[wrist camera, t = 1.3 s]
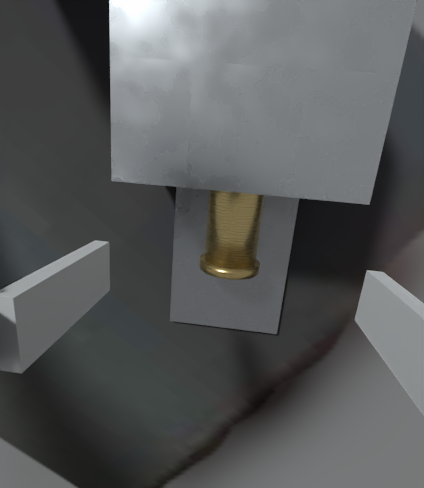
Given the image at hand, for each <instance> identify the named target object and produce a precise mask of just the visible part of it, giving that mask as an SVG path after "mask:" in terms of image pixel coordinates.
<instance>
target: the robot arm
mask: <svg viewBox="0 0 424 488" xmlns="http://www.w3.org/2000/svg"><path fill="white" fill-rule="evenodd" d="M109 290H110V268H109V242H104V241H93V242H91V243H89V244H87V245H85V246H84V247H82V248H80V249H78V250H76V251H74V252H72V253H70V254H68V255H66V256H64V257H62V258H60V259H58V260H57V261H55V262H53V263H51V264H49V265H47V266H45V267H43V268H41V269H39V270H37V271H35V272H33V273H32V274H30V275H28V276H26V277H23V278H20V279H18V280H16V281H14V282H12V283H10V285H6V286H4V287H2V288H1V289H0V370H1V371H8V372H15V373H23V372H24V371H25V370H26V369H27V368H28V367H29V366H30V365H31V364H32V363H34V362H35V361H36V360H37V359H38V358H39V357H40V356H41V355H42V354H43V353H44V352H45V351H46V350H47V349H48V348H49V347H50V346H51V345H52V344H54V343H55V342H56V341H57V340H58V339H59V338H60V337H61V336H62V335H63V334H64V333H65V332H66V331H67V330H68V329H69V328H70V327H71V326H72V325H74V324H75V323H76V322H77V321H78V320H79V319H80V318H81V317H82V316H83V315H84V314H85V313H86V312H87V311H88V310H89V309H90V308H91V307H92V306H94V305H95V304H96V303H97V302H98V301H99V300H100V299H101V298H102V297H103V296H104V295H105V294H106V293H107V292H108V291H109ZM355 321H356V323H357V324H358V325H359V326H360V328H361V330H362V331H363V332H364V334H365V335H366V336H367V338H368V339H369V340H370V342H371V343H372V345H373V346H374V348H375V349H376V350H377V352H378V353H379V355H380V356H381V357H382V359H383V360H384V362H385V363H386V364H387V366H388V367H389V369H390V370H391V371H392V373H393V374H394V376H395V377H396V378H397V380H398V381H399V382H400V384H401V385H402V387H403V388H404V390H405V391H406V392H407V394H408V395H409V397H410V398H411V399H412V401H413V402H414V403H415V405H416V406H417V407H418V409H419V411H420V412H421V413H422V415H423V416H424V303H422V302H421V301H420V300H418V299H417V298H416V297H415V296H413V295H412V294H411V293H409V292H408V291H407V290H405V289H404V288H403V287H402V286H400V285H399V284H397V282H395V281H394V280H393V279H391V278H390V277H389V276H387V275H386V274H385V273H384V272H378V271H369V270H367V271H366V275H365V280H364V284H363V288H362V292H361V296H360V300H359V304H358V308H357V312H356V316H355Z"/></svg>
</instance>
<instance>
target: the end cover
mask: <svg viewBox="0 0 424 488" xmlns="http://www.w3.org/2000/svg"><path fill="white" fill-rule="evenodd" d="M263 203H264V195H259V194H249V193H238V192H227V191H216V190H210V191H209V203H208V216H207V229H206V241H205V253H204V254H202V255H201V256H200V263H199V267H200V269H201V270H202V271H203V272H205V273H206V274H208V275H211V276H214V277H217V278H222V279H229V280H244V279H250V278H253V277H255V276H257V275H258V273H259V267H260V262H259V261H258V260H257V259H256V256H257V248H258V241H259V233H260V225H261V218H262V210H263Z"/></svg>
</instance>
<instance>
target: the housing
mask: <svg viewBox="0 0 424 488" xmlns="http://www.w3.org/2000/svg"><path fill="white" fill-rule="evenodd" d="M416 4H417V0H109V25H110V98H111V170H112V181H119V182H130V183H141V184H152V185H162V186H173V187H176V204H175V225H174V246H173V267H172V289H171V310H170V321H175V322H183V323H191V324H199V325H207V326H215V327H223V328H231V329H239V330H247V331H255V332H263V333H271V334H277V330H278V324H279V318H280V312H281V306H282V300H283V294H284V288H285V282H286V276H287V270H288V264H289V258H290V252H291V246H292V240H293V233H294V227H295V221H296V215H297V209H298V203H299V198H303V199H313V200H324V201H335V202H346V203H357V204H367V205H370V201H371V196H372V192H373V188H374V183H375V179H376V175H377V171H378V166H379V162H380V158H381V153H382V149H383V145H384V141H385V136H386V132H387V128H388V123H389V119H390V115H391V111H392V106H393V102H394V98H395V94H396V89H397V85H398V81H399V76H400V72H401V68H402V64H403V59H404V55H405V51H406V46H407V42H408V38H409V34H410V29H411V25H412V21H413V16H414V12H415V8H416ZM210 190H216V191H227V192H238V193H249V194H259V195H264V203H263V210H262V218H261V225H260V233H259V241H258V248H257V256H256V259H257V260H258V261H259V262H260V267H259V273H258V275H257V276H255V277H253V278H250V279H244V280H229V279H222V278H217V277H214V276H211V275H208V274H206V273H205V272H203V271H202V270H201V269H200V267H199V263H200V256H201V255H202V254H204V253H205V241H206V229H207V216H208V203H209V191H210Z"/></svg>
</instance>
